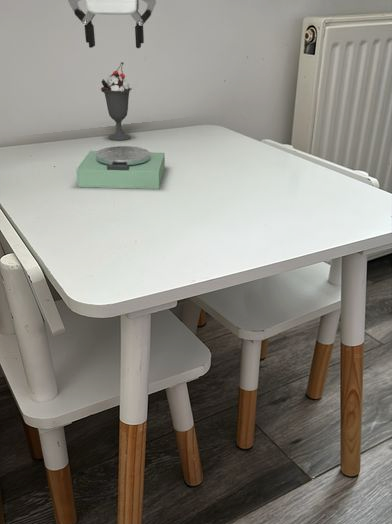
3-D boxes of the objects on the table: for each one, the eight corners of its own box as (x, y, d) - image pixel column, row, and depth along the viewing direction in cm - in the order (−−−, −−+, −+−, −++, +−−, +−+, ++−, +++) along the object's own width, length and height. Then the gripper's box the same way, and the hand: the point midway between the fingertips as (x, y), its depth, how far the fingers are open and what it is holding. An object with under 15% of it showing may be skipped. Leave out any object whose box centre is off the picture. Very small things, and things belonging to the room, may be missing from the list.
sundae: (137, 134, 127) (134, 61, 119) (129, 142, 122) (125, 65, 113) (109, 133, 128) (104, 60, 120) (100, 140, 123) (94, 64, 114)
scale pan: (91, 164, 96) (90, 159, 95) (101, 149, 104) (100, 145, 103) (147, 166, 96) (146, 161, 95) (152, 151, 103) (152, 146, 103)
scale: (78, 187, 96) (75, 165, 94) (91, 166, 106) (89, 147, 104) (159, 189, 96) (158, 168, 94) (164, 168, 106) (164, 149, 104)
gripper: (156, -55, 108) (158, 45, 118) (67, -55, 109) (77, 44, 118) (152, -56, 102) (155, 50, 112) (58, -57, 102) (69, 48, 112)
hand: (115, 47), depth 115 cm, fingers open, 9 cm apart
